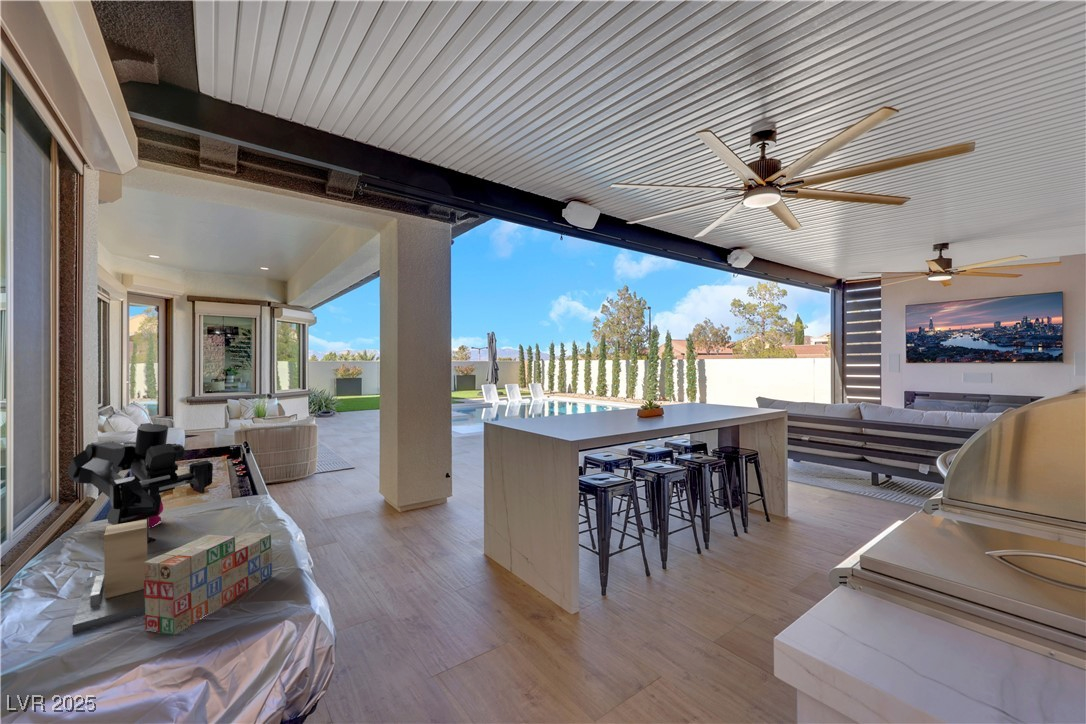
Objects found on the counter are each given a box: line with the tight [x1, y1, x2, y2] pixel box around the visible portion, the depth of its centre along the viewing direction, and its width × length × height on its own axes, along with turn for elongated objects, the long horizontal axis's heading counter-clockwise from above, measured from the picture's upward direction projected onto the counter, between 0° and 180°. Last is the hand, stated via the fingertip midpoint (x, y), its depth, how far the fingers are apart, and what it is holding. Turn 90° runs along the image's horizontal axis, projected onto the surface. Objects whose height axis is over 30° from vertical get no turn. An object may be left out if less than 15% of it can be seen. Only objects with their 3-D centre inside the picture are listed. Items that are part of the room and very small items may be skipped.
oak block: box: [103, 519, 148, 598], centre depth 90 cm, size 6×6×12 cm
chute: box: [71, 573, 145, 635], centre depth 90 cm, size 22×13×4 cm, turn 40°
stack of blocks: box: [144, 532, 273, 636], centre depth 88 cm, size 21×6×12 cm, turn 169°
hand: (179, 497), depth 103 cm, fingers open, 9 cm apart
